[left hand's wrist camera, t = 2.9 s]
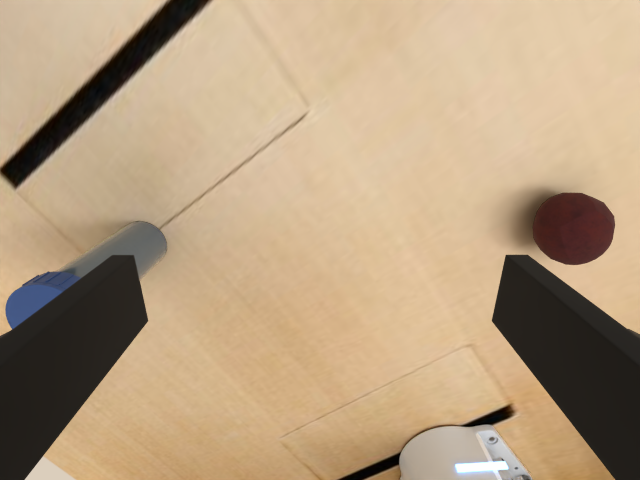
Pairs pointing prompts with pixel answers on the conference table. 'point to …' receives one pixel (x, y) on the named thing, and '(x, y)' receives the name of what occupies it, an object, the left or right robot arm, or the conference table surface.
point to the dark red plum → (573, 228)
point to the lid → (36, 295)
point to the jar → (123, 249)
